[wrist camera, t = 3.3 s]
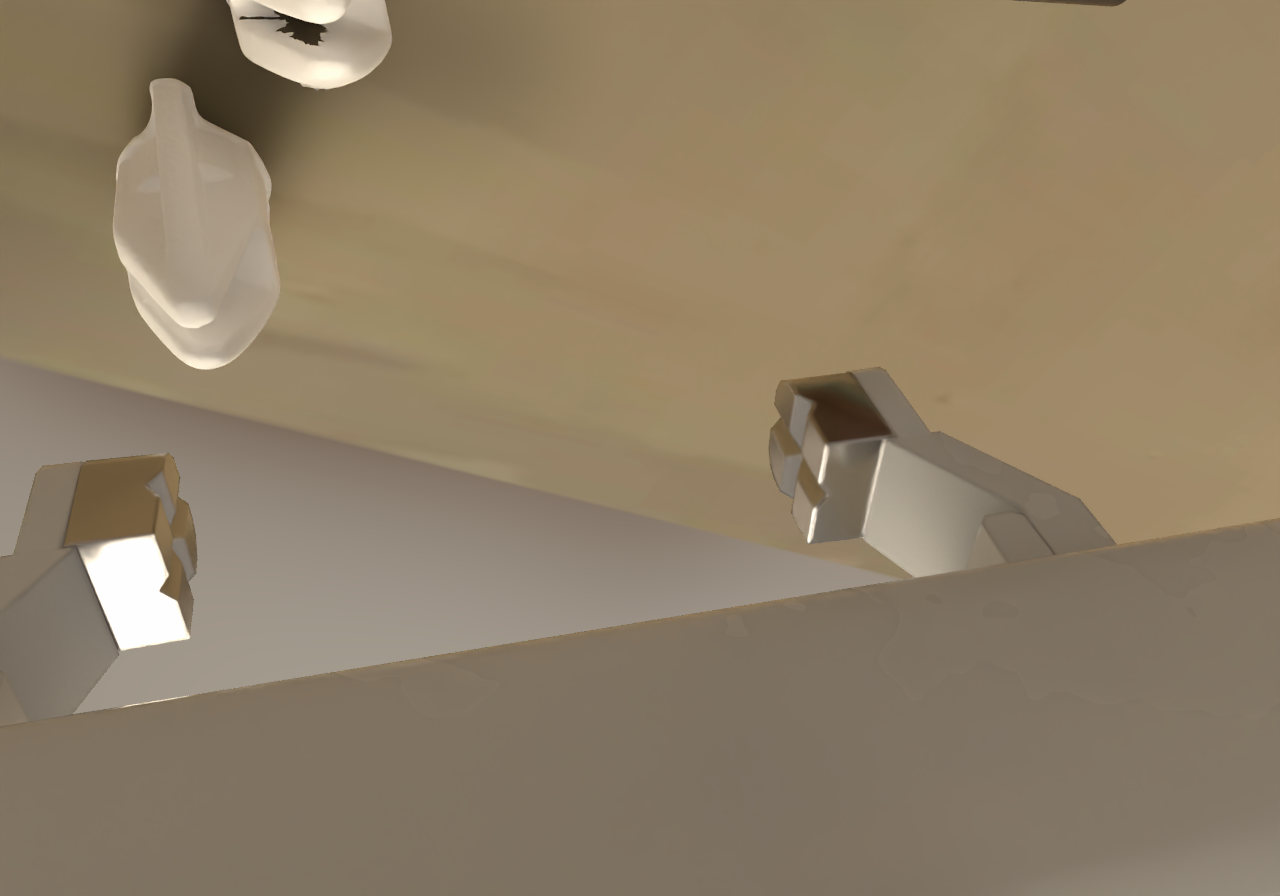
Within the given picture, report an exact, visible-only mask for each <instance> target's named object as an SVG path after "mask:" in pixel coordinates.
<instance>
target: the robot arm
mask: <svg viewBox="0 0 1280 896" xmlns="http://www.w3.org/2000/svg"><path fill="white" fill-rule="evenodd" d="M774 404H775V406H776V408H777V410H778V412H779V414H780V416H781V418H780V419H779V420H778V421H777V422H776V423H775V425H774V426H773V427H772V428H771V430H770V440H769V456H770V466H771V470H772V473H773V476H774V480H775V482H776V484H777V486H778V488H779V490H780V492H782V493H784V494H785V495H787V496H789V497H791V498H792V499H793V504H792V510H791V514H792V515H793V517H794V519H795V521H796V523H797V525H798V527H799V529H800V531H801V533H802V535H803V537H804V538H805V540H806V542H807V544H814V543H822V542H830V541H838V540H846V539H854V538H862V537H864V538H863V540H864V541H865V542H867V543H868V544H869V545H871V546H872V547H874V548H875V549H876V550H878V551H879V552H880V553H882V554H883V555H885V556H886V557H887V558H889V559H890V560H891V561H893V562H894V563H896V564H897V565H898V566H900V567H901V568H902V569H904V570H905V571H907V572H908V573H909V574H911V575H912V576H913V577H915V578H910V579H903V580H897V581H891V582H885V583H879V584H873V585H867V586H861V587H854V588H848V589H842V590H836V591H830V592H824V593H818V594H812V595H805V596H799V597H793V598H787V599H781V600H774V601H768V602H762V603H756V604H750V605H744V606H738V607H731V608H725V609H719V610H713V611H707V612H701V613H695V614H688V615H682V616H676V617H670V618H664V619H658V620H651V621H645V622H639V623H633V624H627V625H621V626H615V627H609V628H603V629H597V630H590V631H584V632H578V633H572V634H566V635H560V636H553V637H547V638H541V639H535V640H528V641H522V642H516V643H510V644H504V645H498V646H492V647H485V648H480V649H474V650H467V651H461V652H455V653H449V654H442V655H436V656H430V657H424V658H418V659H411V660H405V661H399V662H393V663H387V664H381V665H375V666H368V667H363V668H356V669H350V670H344V671H338V672H331V673H325V674H319V675H314V676H307V677H301V678H295V679H288V680H282V681H276V682H270V683H264V684H257V685H252V686H245V687H239V688H233V689H227V690H220V691H214V692H208V693H202V694H196V695H189V696H184V697H177V698H171V699H165V700H159V701H153V702H147V703H140V704H134V705H128V706H122V707H115V708H110V709H103V710H97V711H91V712H85V713H79V714H73V713H74V712H75V711H76V709H77V708H78V707H79V705H80V704H81V703H82V702H83V700H84V699H85V698H86V697H87V695H88V694H89V693H90V691H91V690H92V689H93V687H94V686H95V685H96V684H97V682H98V681H99V680H100V679H101V677H102V676H103V675H104V673H105V672H106V671H107V669H108V668H109V667H110V666H111V664H112V663H113V662H114V661H115V659H116V658H117V657H118V656H119V653H118V651H121V650H127V649H132V648H138V647H144V646H149V645H155V644H161V643H166V642H172V641H177V640H183V639H188V638H190V632H191V622H192V612H193V602H194V599H193V596H192V593H191V589H190V586H189V583H188V582H189V580H191V579H192V577H194V575H195V574H196V568H197V547H196V534H195V529H194V524H193V519H192V515H191V512H190V508H189V505H188V503H187V502H185V501H184V500H182V499H181V498H179V497H178V492H179V482H180V476H179V473H178V470H177V467H176V464H175V461H174V458H173V457H172V456H171V455H170V454H169V453H162V454H151V455H141V456H131V457H122V458H121V457H120V458H111V459H100V460H91V461H86V462H75V463H64V464H55V465H46V466H42V467H41V468H40V469H39V470H38V471H37V473H36V474H35V477H34V481H33V485H32V488H31V492H30V496H29V500H28V503H27V507H26V510H25V514H24V518H23V521H22V525H21V529H20V532H19V536H18V539H17V543H16V547H15V550H14V554H13V555H8V556H1V557H0V896H1280V518H1277V519H1271V520H1265V521H1259V522H1253V523H1247V524H1241V525H1235V526H1229V527H1223V528H1217V529H1211V530H1205V531H1199V532H1193V533H1186V534H1180V535H1174V536H1168V537H1162V538H1156V539H1150V540H1143V541H1137V542H1131V543H1125V544H1119V545H1117V544H1116V543H1115V541H1114V540H1113V539H1112V538H1111V537H1110V535H1109V534H1108V533H1107V532H1106V530H1105V529H1104V528H1103V527H1102V525H1101V524H1100V523H1099V522H1098V521H1097V519H1096V518H1095V517H1094V516H1093V514H1092V513H1091V512H1090V511H1089V509H1088V508H1087V507H1086V506H1085V505H1084V503H1083V502H1082V501H1081V500H1080V499H1079V498H1077V497H1075V496H1073V495H1071V494H1069V493H1066V492H1064V491H1062V490H1060V489H1058V488H1056V487H1054V486H1052V485H1050V484H1048V483H1046V482H1044V481H1042V480H1040V479H1037V478H1035V477H1033V476H1031V475H1029V474H1027V473H1025V472H1023V471H1021V470H1019V469H1017V468H1015V467H1013V466H1010V465H1008V464H1006V463H1004V462H1002V461H1000V460H998V459H996V458H994V457H992V456H990V455H988V454H986V453H984V452H981V451H979V450H977V449H975V448H973V447H971V446H969V445H967V444H965V443H963V442H961V441H959V440H957V439H955V438H952V437H950V436H948V435H946V434H944V433H942V432H932V433H931V432H930V431H929V429H928V428H927V427H926V425H925V424H924V422H923V421H922V420H921V418H920V417H919V416H918V414H917V413H916V411H915V410H914V409H913V407H912V406H911V405H910V403H909V402H908V400H907V399H906V398H905V396H904V395H903V393H902V392H901V391H900V389H899V388H898V387H897V385H896V384H895V382H894V381H893V380H892V378H891V377H890V375H889V374H888V373H887V371H886V370H885V369H883V368H881V367H873V368H866V369H860V370H853V371H847V372H846V373H838V374H830V375H822V376H814V377H806V378H798V379H790V380H782V381H780V383H779V385H778V388H777V390H776V396H775V403H774Z"/></svg>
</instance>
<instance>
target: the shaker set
mask: <svg viewBox="0 0 1280 896" xmlns="http://www.w3.org/2000/svg"><path fill="white" fill-rule="evenodd" d="M226 1H227V3H228V5H230V9H231V13H232V17H233V21H234V25H235V29H236V34H237V37H238V41H239V44H240V48H241V50H242V52H243V54H244V55H245V56H246V57H247V58H248V59H249V60H251V61H252V62H254V63H255V64H257V65H259V66H261V67H263V68H265V69H267V70H269V71H271V72H273V73H276V74H278V75H280V76H282V77H285V78H287V79H290V80H292V81H295V82H298V83H300V84H301V85H302V86H303V87H311V88H315V90H316V91H317V90H319V89H325V91H326V90H327V89H331V88H337V87H341V86H344V85H347V84H349V83H352V82H355V81H357V80H359V79H361V78H363V77H365V76H366V75H367V74H369V73H370V72H371V71H372V70H374V69H375V68H376V67H377V66H378V65H379V64H380V63H381V62H382V60H383V59H384V57H385V56H386V55H387V53H388V51H389V49H390V47H391V43H392V33H391V27H390V22H389V17H388V13H387V8H386V3H385V0H226ZM274 10H275V11H277V12H280V13H283V14H286V15H289V16H291V17H294V18H297V19H301V20H304V21H307V22H312V23H317V24H325V25H322V26H324V27H325V28H327V29H325V30H327V31H326V32H324V33H320V37H321V38H320V39H321V40H323V42H321V41H318V46H315V45H309V44H305V43H304V42H303V41H299V40H298V39H296V40H294V38H292V37H289V36H292V34H293V33H294V32H290V33H282V31H278V32H276V30H278V29H280V28H282V27H286V24H287V23H289V22H286V20H285V19H284V20H280V19H275V20H268V19H263V20H262V19H259V20H256V19H245V20H239V18H240V17H241V16H245V17H258V16H263V17H280V16H279V15H277V14H275V13H274ZM285 22H286V23H285ZM150 83H151V84H150V87H149V88H150V94H151V99H152V113H151V117H150V120H149V123H148V125H147V126H146V128H145V129H144V131H143V132H142V133H141V134H139V135H138V136H136V137H134V138H133V139H132V140H131V141H130V142H129V144H128V145H127V146H126V147H125V149H124V150H123V151H122V153H121V154H120V156H119V159H118V163H117V170H116V194H115V204H114V214H113V235H114V241H115V245H116V248H117V251H118V255H119V258H120V261H121V262H122V264H123V265H124V266H125V267H126V268H127V272H128V278H129V285H130V290H131V293H132V296H133V299H134V302H135V305H136V307H137V309H138V311H139V313H140V315H141V316H142V318H143V319H144V320H145V322H146V323H147V324H148V325H149V327H150V328H151V329H152V330H153V332H154V333H155V334H156V335H157V336H158V338H159V339H160V340H161V341H162V342H163V343H164V344H165V345H166V346H167V347H168V348H169V349H170V351H171V352H172V353H173V354H174V355H176V356H177V357H178V358H179V359H180V360H182V361H183V362H184V363H186V364H187V365H189V366H191V367H194V368H197V369H214V368H217V367H221V366H224V365H226V364H228V363H229V362H231V361H233V360H234V359H235V358H236V357H238V356H239V355H240V354H241V353H242V352H243V351H244V350H245V349H246V348H247V347H248V346H249V345H250V344H251V343H252V341H253V340H254V339H255V338H256V336H257V335H258V334H259V332H260V331H261V330H262V328H263V327H264V325H265V324H266V322H267V321H268V319H269V317H270V315H271V314H272V312H273V310H274V308H275V306H276V304H277V302H278V299H279V296H280V279H279V273H278V266H277V261H276V254H275V248H274V242H273V238H272V233H271V229H270V224H269V220H270V215H269V211H270V206H269V204H268V203H269V202H268V200H269V198H270V196H271V188H272V186H271V178H270V176H269V174H268V171H267V169H266V167H265V165H264V163H263V161H262V160H261V158H260V156H259V155H258V153H257V152H256V151H255V149H254V148H253V146H252V145H251V144H250V143H249V142H248V141H246V140H244V139H242V138H240V137H238V136H236V135H234V134H232V133H230V132H228V131H226V130H224V129H222V128H220V127H218V126H216V125H214V124H212V123H210V122H208V121H207V120H205V119H203V118H202V117H201V116H200V115H199V113H198V111H197V109H196V106H195V102H194V97H193V93H192V90H191V88H190V87H189V86H188V85H186V84H185V83H183V82H182V81H179V80H177V79H172V78H164V79H156V80H153V81H152V82H150Z"/></svg>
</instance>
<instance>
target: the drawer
mask: <svg viewBox="0 0 1280 896" xmlns="http://www.w3.org/2000/svg"><path fill="white" fill-rule="evenodd" d="M1016 1H1032V2H1049V3H1065V4H1081V5H1097V6H1117V5H1119V4H1122V3H1123V2H1125V1H1126V0H1016Z"/></svg>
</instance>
